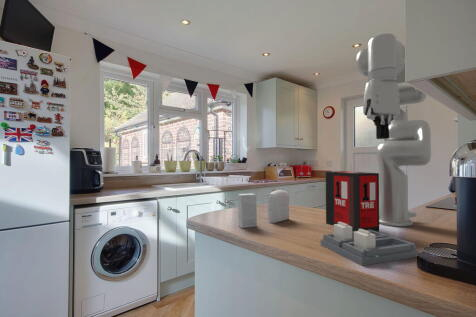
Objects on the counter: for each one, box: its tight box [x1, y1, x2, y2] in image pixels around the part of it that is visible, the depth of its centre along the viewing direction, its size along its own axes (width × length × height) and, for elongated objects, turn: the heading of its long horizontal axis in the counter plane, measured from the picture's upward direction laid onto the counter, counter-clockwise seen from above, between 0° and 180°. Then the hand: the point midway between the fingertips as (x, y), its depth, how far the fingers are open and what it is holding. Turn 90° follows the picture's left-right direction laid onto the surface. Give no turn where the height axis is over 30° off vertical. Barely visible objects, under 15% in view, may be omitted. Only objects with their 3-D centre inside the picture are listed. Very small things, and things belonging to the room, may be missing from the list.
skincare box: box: [237, 192, 258, 229], centre depth 98 cm, size 6×4×12 cm
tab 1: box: [333, 222, 352, 241], centre depth 74 cm, size 3×4×5 cm
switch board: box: [320, 230, 420, 266], centre depth 72 cm, size 18×16×3 cm
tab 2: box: [354, 229, 375, 251], centre depth 67 cm, size 3×4×5 cm
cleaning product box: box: [325, 170, 380, 233], centre depth 96 cm, size 16×9×20 cm, turn 20°
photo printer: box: [267, 189, 290, 224], centre depth 107 cm, size 10×4×12 cm, turn 133°
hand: (382, 138), depth 80 cm, fingers closed
